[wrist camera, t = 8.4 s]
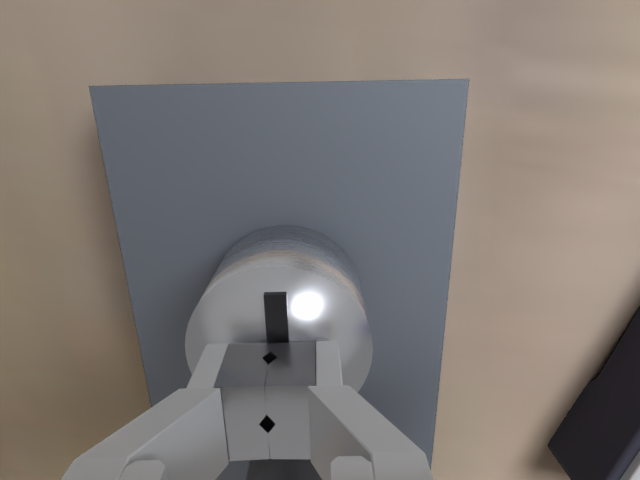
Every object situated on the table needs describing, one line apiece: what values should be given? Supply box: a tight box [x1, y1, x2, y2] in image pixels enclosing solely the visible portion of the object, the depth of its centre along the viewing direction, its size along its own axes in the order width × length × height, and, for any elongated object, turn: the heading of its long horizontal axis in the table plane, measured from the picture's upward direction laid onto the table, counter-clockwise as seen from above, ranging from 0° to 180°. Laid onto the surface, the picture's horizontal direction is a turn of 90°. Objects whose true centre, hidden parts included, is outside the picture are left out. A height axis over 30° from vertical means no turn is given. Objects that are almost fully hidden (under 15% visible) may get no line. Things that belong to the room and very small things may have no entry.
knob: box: [185, 225, 373, 392], centre depth 13 cm, size 4×4×7 cm
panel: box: [89, 79, 469, 480], centre depth 17 cm, size 24×10×4 cm, turn 1°
